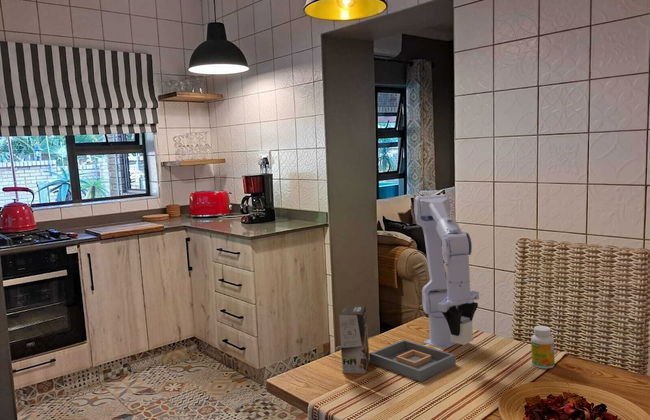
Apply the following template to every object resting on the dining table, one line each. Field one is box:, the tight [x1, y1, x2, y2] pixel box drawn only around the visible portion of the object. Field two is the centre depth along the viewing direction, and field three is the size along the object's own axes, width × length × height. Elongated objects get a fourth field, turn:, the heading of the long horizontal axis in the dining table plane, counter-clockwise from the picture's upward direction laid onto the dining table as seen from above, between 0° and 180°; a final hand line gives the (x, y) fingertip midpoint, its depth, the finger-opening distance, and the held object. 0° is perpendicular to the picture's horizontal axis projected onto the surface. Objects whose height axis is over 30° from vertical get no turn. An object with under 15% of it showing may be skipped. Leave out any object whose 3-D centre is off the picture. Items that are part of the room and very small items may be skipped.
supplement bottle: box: [530, 325, 556, 369], centre depth 130 cm, size 5×5×10 cm
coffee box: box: [338, 304, 370, 374], centre depth 137 cm, size 9×6×16 cm
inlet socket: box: [396, 350, 432, 367], centre depth 139 cm, size 7×7×1 cm
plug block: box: [450, 316, 474, 346], centre depth 130 cm, size 4×4×6 cm
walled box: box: [369, 339, 457, 382], centre depth 136 cm, size 14×18×3 cm
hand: (460, 332), depth 130 cm, fingers closed on plug block, 4 cm apart
